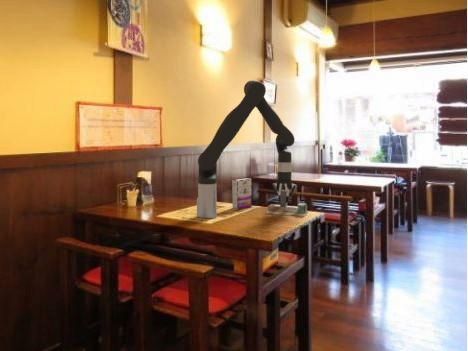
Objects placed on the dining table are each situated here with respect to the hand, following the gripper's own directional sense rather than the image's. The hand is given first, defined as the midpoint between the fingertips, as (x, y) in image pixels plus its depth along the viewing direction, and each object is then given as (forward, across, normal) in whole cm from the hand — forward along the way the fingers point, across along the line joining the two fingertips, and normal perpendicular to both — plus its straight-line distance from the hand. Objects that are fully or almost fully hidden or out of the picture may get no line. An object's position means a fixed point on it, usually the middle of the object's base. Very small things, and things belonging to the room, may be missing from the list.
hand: (283, 202), depth 215 cm
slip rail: (+6, +2, 0) cm, 6 cm away
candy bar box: (+6, -26, +6) cm, 27 cm away
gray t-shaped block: (+4, +1, 0) cm, 5 cm away
